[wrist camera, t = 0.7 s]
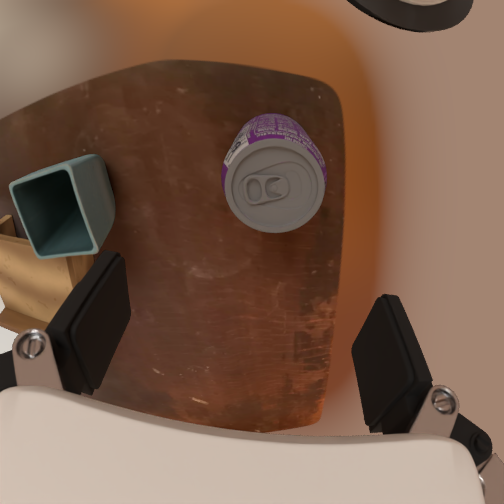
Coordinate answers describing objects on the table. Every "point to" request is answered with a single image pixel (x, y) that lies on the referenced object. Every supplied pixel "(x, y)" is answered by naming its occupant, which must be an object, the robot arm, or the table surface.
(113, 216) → the flower pot
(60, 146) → the table surface
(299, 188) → the beverage can
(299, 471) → the robot arm
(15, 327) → the wooden block with backrest
